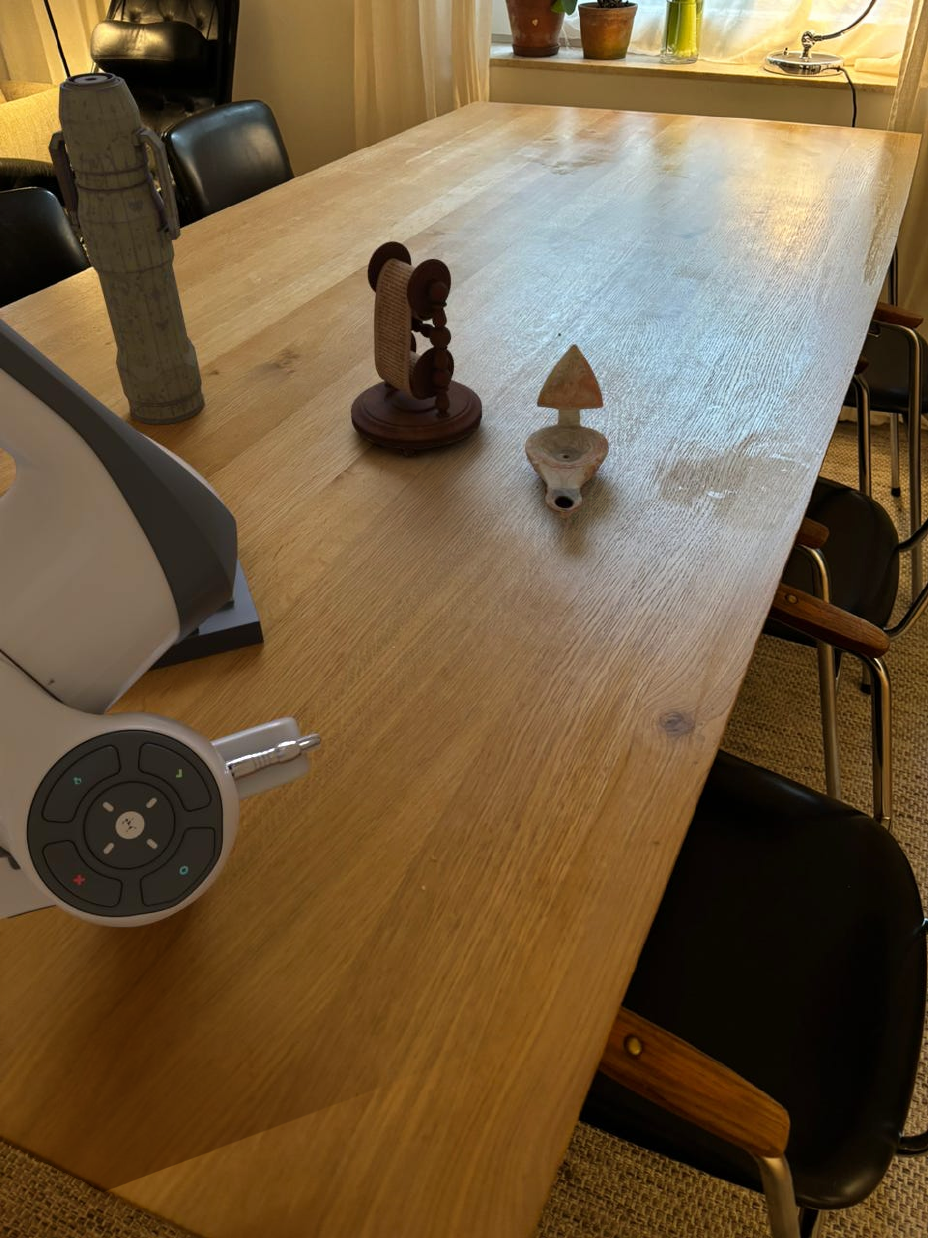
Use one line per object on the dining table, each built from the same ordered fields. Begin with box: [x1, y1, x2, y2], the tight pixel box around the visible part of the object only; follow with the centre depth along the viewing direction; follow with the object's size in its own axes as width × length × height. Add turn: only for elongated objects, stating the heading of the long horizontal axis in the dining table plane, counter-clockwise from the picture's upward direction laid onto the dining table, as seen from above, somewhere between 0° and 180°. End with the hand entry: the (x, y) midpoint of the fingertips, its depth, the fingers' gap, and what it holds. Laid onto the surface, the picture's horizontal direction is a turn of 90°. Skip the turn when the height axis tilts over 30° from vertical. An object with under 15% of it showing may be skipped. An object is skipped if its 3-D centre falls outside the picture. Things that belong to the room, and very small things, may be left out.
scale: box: [146, 554, 265, 672], centre depth 88 cm, size 16×16×3 cm
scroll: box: [350, 240, 483, 459], centre depth 106 cm, size 15×15×20 cm
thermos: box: [47, 71, 205, 426], centre depth 106 cm, size 9×12×35 cm
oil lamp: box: [524, 343, 610, 519], centre depth 101 cm, size 9×21×10 cm, turn 173°
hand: (139, 794), depth 64 cm, fingers closed on cup, 6 cm apart
